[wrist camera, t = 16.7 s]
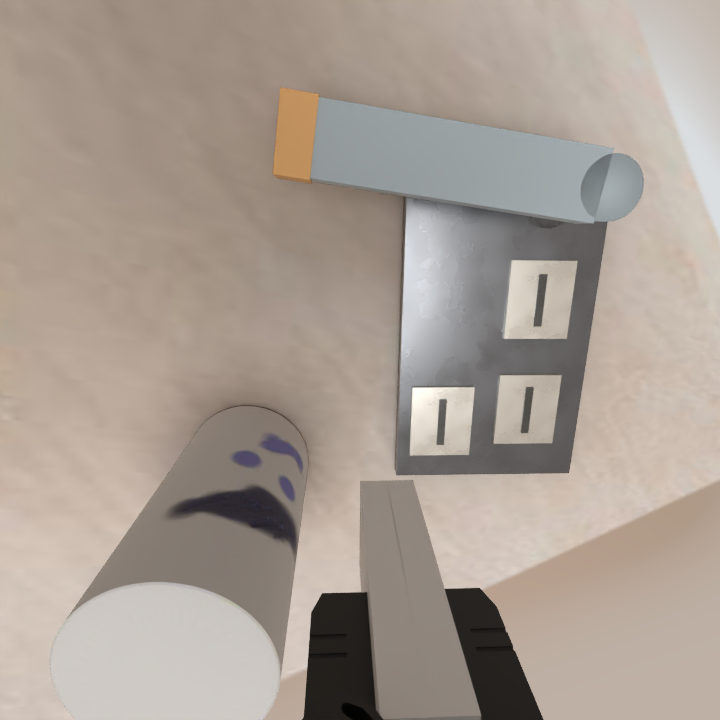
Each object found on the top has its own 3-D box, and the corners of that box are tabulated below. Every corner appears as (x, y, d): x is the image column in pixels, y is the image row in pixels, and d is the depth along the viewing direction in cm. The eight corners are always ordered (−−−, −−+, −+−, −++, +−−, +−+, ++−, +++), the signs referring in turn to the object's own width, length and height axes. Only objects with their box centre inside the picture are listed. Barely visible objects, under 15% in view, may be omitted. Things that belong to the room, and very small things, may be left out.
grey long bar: (630, 158, 27) (655, 152, 25) (610, 230, 28) (632, 231, 26) (285, 99, 26) (280, 87, 24) (278, 178, 27) (272, 174, 25)
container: (326, 431, 39) (314, 629, 20) (283, 524, 41) (234, 783, 22) (214, 387, 37) (81, 554, 18) (175, 486, 40) (22, 728, 21)
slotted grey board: (405, 174, 34) (408, 171, 32) (605, 177, 34) (617, 175, 33) (394, 468, 40) (397, 477, 39) (562, 466, 41) (571, 475, 39)
